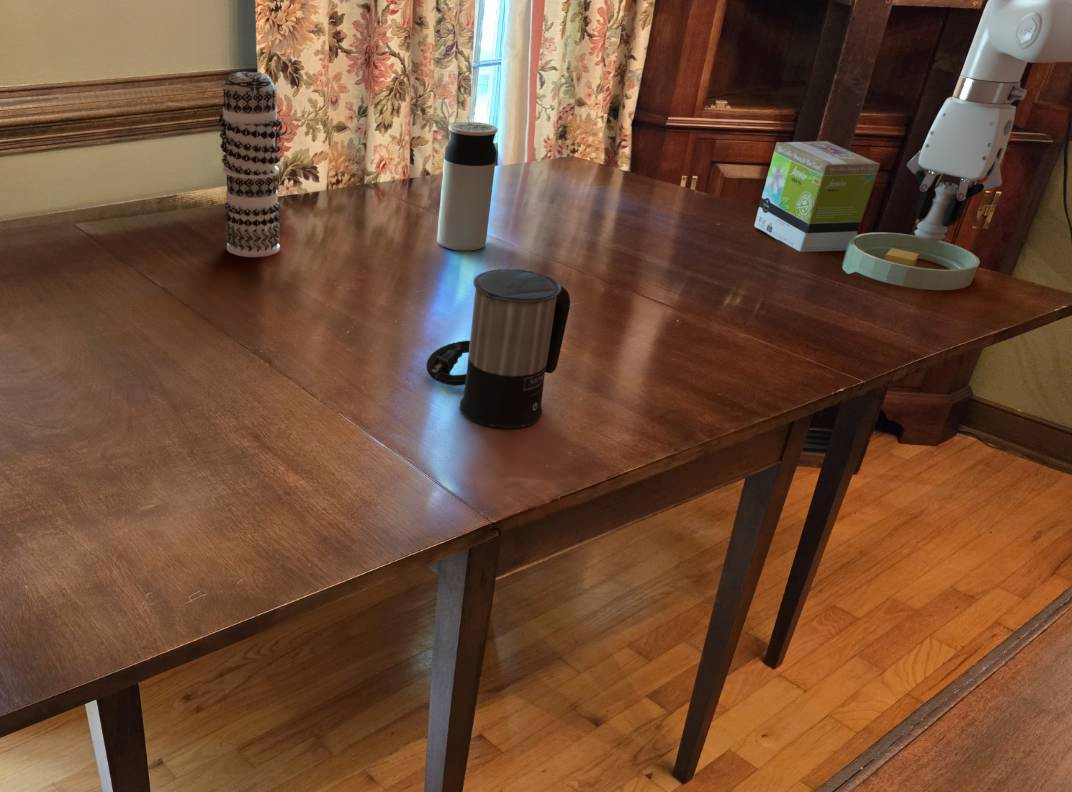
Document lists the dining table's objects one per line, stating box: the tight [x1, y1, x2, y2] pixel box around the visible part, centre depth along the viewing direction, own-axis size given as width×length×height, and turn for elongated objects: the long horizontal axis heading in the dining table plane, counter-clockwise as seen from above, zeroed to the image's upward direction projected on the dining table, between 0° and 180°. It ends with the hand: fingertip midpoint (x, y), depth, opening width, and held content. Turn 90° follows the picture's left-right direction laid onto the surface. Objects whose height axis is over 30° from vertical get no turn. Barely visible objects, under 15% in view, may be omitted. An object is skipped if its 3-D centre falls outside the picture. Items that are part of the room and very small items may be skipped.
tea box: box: [754, 140, 881, 253], centre depth 161 cm, size 15×10×15 cm, turn 11°
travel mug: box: [436, 121, 498, 252], centre depth 152 cm, size 8×8×18 cm
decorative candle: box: [217, 71, 283, 258], centre depth 144 cm, size 9×9×25 cm
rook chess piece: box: [913, 181, 959, 241], centre depth 147 cm, size 4×4×8 cm
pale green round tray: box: [841, 232, 981, 291], centre depth 149 cm, size 18×18×4 cm
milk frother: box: [426, 268, 571, 429], centre depth 107 cm, size 14×16×15 cm
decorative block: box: [884, 248, 919, 267], centre depth 147 cm, size 4×4×4 cm
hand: (935, 220), depth 148 cm, fingers closed on rook chess piece, 3 cm apart
